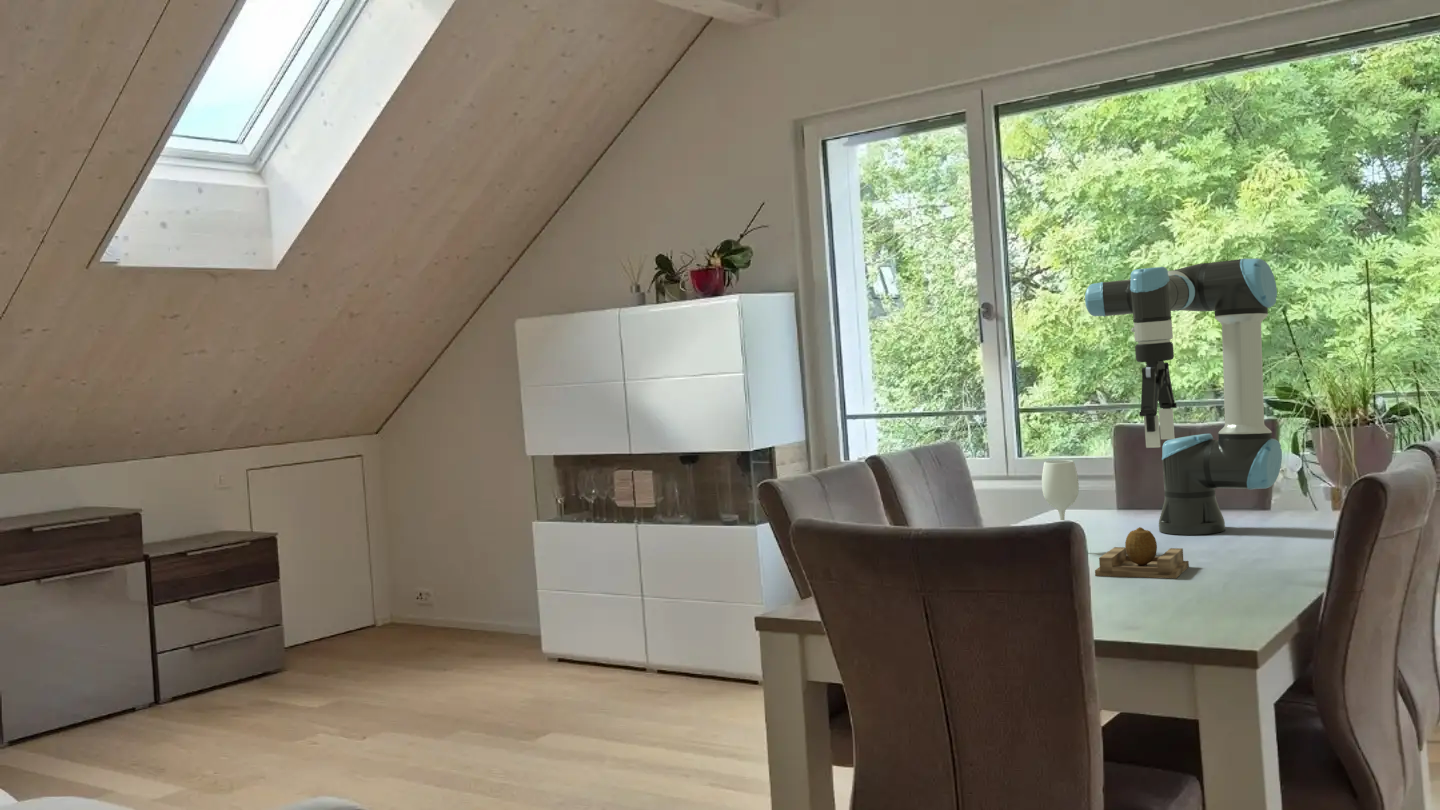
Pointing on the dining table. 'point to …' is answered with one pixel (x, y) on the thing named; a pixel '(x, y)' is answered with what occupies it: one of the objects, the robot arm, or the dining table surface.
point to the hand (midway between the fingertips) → (1160, 443)
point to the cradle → (1159, 567)
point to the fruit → (1141, 546)
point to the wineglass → (1060, 484)
